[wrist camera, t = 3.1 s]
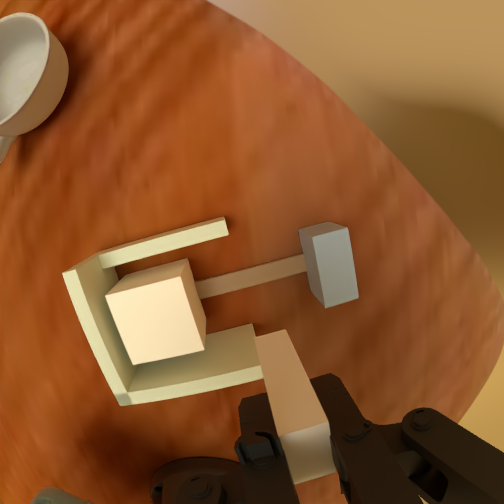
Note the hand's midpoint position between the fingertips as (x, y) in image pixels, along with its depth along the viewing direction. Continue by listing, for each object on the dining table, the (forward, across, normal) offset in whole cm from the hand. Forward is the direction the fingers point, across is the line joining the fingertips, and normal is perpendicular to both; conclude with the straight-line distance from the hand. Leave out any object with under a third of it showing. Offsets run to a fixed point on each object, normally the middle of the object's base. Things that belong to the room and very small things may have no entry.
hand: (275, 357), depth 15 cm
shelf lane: (+15, -7, 0) cm, 16 cm away
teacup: (+15, -17, +22) cm, 31 cm away
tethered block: (+15, -1, 0) cm, 15 cm away
